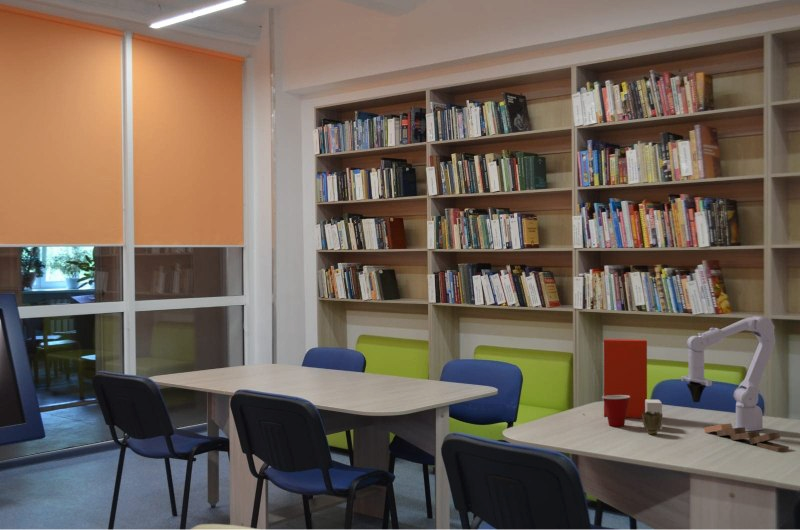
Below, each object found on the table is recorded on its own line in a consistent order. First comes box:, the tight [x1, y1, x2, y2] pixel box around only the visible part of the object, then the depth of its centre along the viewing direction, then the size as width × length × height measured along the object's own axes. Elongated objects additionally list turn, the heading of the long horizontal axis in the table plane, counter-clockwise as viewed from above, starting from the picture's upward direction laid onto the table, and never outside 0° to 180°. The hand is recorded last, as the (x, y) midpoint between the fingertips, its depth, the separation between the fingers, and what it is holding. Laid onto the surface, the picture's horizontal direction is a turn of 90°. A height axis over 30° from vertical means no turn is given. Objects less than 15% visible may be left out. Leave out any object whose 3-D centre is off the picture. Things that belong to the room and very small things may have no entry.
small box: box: [645, 398, 663, 431], centre depth 316 cm, size 8×6×10 cm
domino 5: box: [756, 441, 790, 453], centre depth 281 cm, size 5×2×9 cm
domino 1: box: [703, 422, 732, 434], centre depth 304 cm, size 5×2×9 cm
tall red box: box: [603, 338, 648, 419], centre depth 340 cm, size 8×17×32 cm, turn 76°
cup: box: [641, 411, 663, 436], centre depth 304 cm, size 8×7×8 cm
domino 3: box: [729, 430, 761, 441], centre depth 291 cm, size 5×2×9 cm
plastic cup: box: [601, 395, 630, 428], centre depth 320 cm, size 11×11×12 cm
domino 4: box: [748, 431, 781, 445], centre depth 284 cm, size 5×2×9 cm
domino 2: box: [716, 427, 747, 437], centre depth 298 cm, size 5×2×9 cm
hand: (696, 402), depth 314 cm, fingers closed
